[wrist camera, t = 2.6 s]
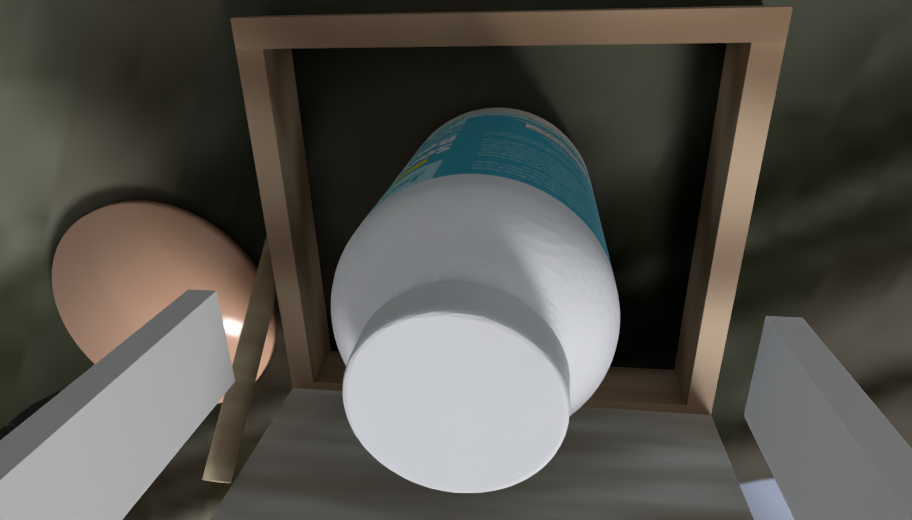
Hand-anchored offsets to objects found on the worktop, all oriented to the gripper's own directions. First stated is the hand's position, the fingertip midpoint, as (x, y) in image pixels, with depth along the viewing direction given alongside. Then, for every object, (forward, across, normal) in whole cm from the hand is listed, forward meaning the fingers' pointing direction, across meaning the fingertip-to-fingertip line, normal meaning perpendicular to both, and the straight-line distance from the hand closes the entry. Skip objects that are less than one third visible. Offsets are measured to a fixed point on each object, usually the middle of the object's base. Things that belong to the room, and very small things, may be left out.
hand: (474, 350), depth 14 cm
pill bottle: (+11, 0, 0) cm, 11 cm away
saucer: (+11, -16, -6) cm, 20 cm away
